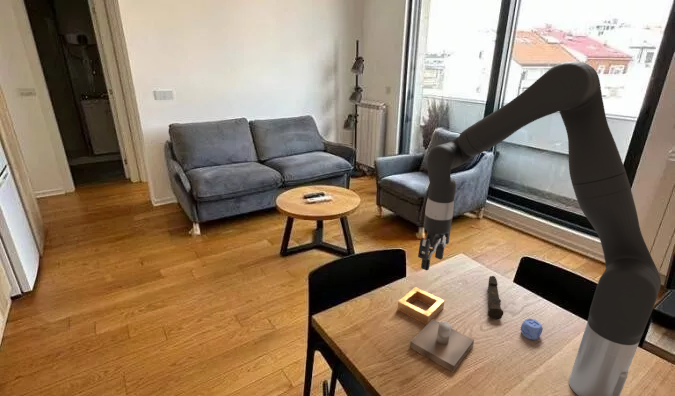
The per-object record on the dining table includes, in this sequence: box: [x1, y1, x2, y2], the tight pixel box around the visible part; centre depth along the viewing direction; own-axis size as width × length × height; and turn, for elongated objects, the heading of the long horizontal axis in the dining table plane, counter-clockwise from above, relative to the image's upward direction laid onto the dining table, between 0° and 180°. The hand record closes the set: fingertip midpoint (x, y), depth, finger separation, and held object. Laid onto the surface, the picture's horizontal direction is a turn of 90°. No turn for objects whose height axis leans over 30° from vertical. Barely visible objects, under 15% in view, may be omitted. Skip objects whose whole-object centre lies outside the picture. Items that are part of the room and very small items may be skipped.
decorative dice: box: [520, 318, 544, 341], centre depth 101 cm, size 4×4×4 cm
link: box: [396, 286, 445, 326], centre depth 111 cm, size 10×10×3 cm
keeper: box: [409, 318, 475, 373], centre depth 96 cm, size 12×12×7 cm
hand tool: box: [487, 275, 504, 320], centre depth 115 cm, size 19×4×5 cm, turn 160°
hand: (432, 263), depth 109 cm, fingers open, 8 cm apart
